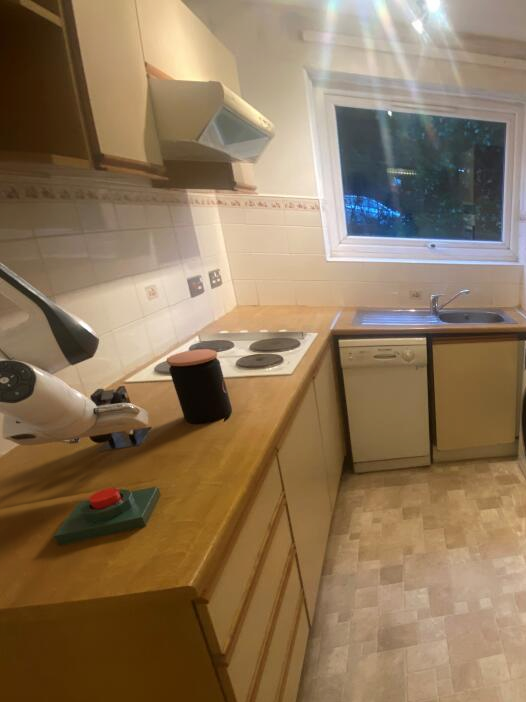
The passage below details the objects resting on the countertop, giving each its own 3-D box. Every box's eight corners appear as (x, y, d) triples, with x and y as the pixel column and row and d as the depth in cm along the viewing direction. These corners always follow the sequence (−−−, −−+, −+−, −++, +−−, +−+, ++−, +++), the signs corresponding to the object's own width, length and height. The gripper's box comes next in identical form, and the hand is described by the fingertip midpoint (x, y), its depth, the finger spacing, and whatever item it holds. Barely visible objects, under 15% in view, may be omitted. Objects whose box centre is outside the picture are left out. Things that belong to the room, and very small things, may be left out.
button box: (58, 546, 73) (49, 527, 72) (83, 510, 82) (75, 493, 80) (145, 526, 78) (138, 508, 76) (161, 495, 86) (154, 478, 85)
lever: (113, 444, 95) (105, 434, 92) (92, 447, 93) (83, 437, 91) (124, 397, 103) (117, 387, 101) (105, 399, 102) (98, 389, 99)
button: (88, 512, 76) (84, 504, 75) (97, 499, 79) (94, 491, 79) (117, 506, 78) (113, 498, 77) (124, 493, 81) (121, 485, 80)
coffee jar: (240, 416, 118) (224, 354, 111) (197, 432, 110) (176, 365, 103) (222, 406, 124) (205, 346, 117) (179, 420, 116) (158, 357, 109)
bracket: (141, 449, 102) (121, 396, 97) (98, 456, 99) (75, 402, 94) (153, 430, 111) (136, 380, 105) (114, 436, 108) (94, 385, 102)
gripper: (132, 390, 87) (160, 414, 99) (-6, 407, 80) (42, 431, 92) (132, 419, 85) (161, 439, 97) (-10, 440, 78) (40, 459, 90)
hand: (102, 435), depth 94 cm, fingers open, 8 cm apart
